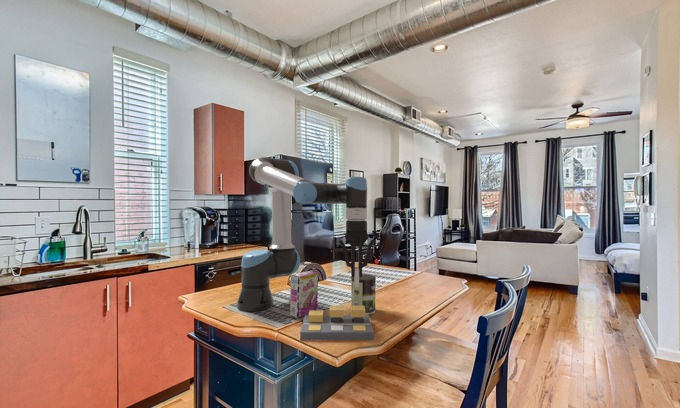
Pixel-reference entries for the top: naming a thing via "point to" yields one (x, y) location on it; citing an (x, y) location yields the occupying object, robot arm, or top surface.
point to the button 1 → (315, 316)
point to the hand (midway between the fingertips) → (356, 286)
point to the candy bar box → (303, 293)
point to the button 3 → (357, 313)
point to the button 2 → (336, 313)
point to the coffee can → (364, 293)
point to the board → (337, 329)
